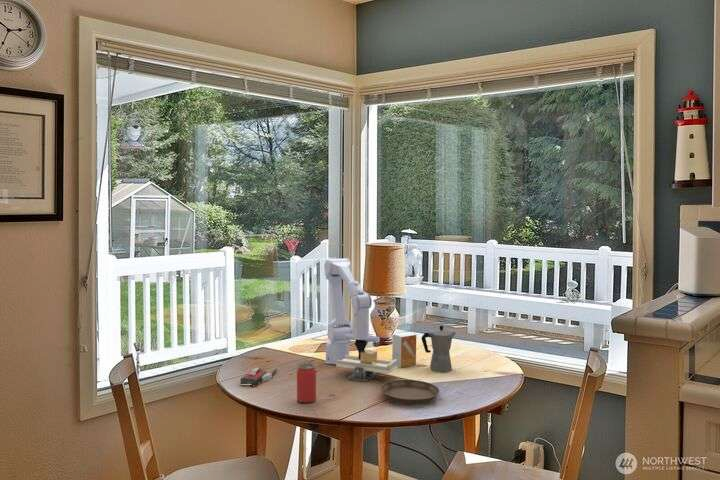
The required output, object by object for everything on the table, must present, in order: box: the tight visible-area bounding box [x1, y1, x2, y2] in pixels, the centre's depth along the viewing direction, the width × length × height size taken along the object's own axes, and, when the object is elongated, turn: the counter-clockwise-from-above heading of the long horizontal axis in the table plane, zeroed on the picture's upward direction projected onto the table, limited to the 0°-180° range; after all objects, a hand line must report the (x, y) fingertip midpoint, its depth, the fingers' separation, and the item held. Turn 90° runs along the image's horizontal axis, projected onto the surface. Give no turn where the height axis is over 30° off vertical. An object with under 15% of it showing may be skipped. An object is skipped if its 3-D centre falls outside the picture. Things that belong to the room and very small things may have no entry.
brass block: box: [360, 348, 378, 365], centre depth 235 cm, size 5×5×5 cm
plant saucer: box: [380, 379, 440, 406], centre depth 212 cm, size 21×21×3 cm
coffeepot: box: [421, 325, 457, 373], centre depth 244 cm, size 15×9×18 cm, turn 110°
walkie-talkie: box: [240, 367, 278, 387], centre depth 232 cm, size 9×4×20 cm
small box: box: [391, 331, 417, 369], centre depth 251 cm, size 8×6×13 cm
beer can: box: [296, 363, 317, 403], centre depth 207 cm, size 7×7×12 cm
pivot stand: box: [347, 367, 379, 383], centre depth 236 cm, size 8×15×4 cm, turn 158°
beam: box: [335, 354, 398, 375], centre depth 236 cm, size 22×9×3 cm, turn 68°
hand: (361, 358), depth 236 cm, fingers closed, pressing on brass block
